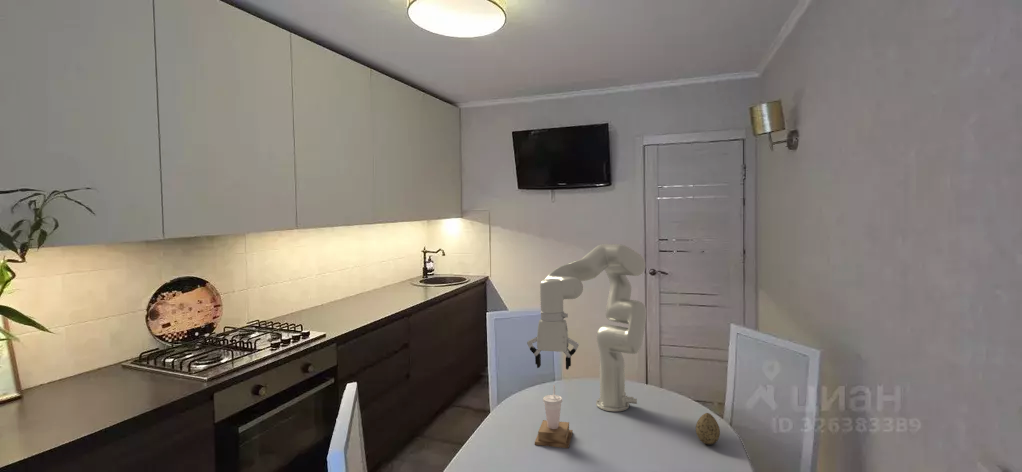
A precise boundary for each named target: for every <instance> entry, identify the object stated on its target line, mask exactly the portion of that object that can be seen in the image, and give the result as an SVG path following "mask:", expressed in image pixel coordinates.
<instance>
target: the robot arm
mask: <svg viewBox="0 0 1022 472" xmlns="http://www.w3.org/2000/svg"><path fill="white" fill-rule="evenodd" d="M645 270H646V260H645V258H644V257H643V255H642V254H640V253H639V252H638V251H635V249H632V248H630V247H629V246H627V245H624V244H619V243H617V244H613V243H602V244H598V245H596V246H595V247H594V248H592V249H591V250H590V251H589V252H588V253H586V254H585V255H584V256H583V257H582V258H580V259H577V260H575V261H572V262H569V263H566V264H564V265H561V266H559V267H557V268H555V269H554V270H552V271H551V272H550V273H549V274H548V275H546V277H545V278H544V279H543V280H541V282H540V284H539V289H540V291H539V293H540V294H539V295H540V296H539V297H540V299H539V300H540V301H539V302H540V319H539V320H538V325H537V334H536V335H537V336H535V337H534V338H532V339H530V340H528V341H527V342H526V344H527V346H528V348H529V350H530V351H531V353H532V354H534V357H535V358H534V359H535V365H536V368H537V369H539V368H540V367H541V366H542V362H541V360H542V359H541V358H542V357H541V351H543V352H557V353H558V352H561V353H562V352H563V353H564V354H565V369H566V370H569V369H570V367H571V366H572V357H573V355H574V354H575V353H576V352H577V349H578V348H579V345H580V344H579V342H577V341H575V340H573V339H571V338H570V337H569V330H568V325H567V324H568V323H567V320H566V318H569V317H568V316H569V314H568V313H566V312H565V310H564V300H575V299H577V298H579V297H580V296H582V293H583V292H584V285H583V282H586V281H589V280H593V279H595V278H597V277H598V276H599V275H600V274H601V273H602V272H603V271H605V273H606V275H607V279H608V281H609V292H608V296H607V301H606V307H605V317H606V319H607V320H608V321H610V322H613V323H617V324H618V323H619V324H624V325H628V326H627V327H625V326H621V325H614V324H604V325H601V326H600V327H599V328H598V329H597V332H596V342H597V348H598V354H599V357H598V358H599V398H597V400H595V401H596V402H595V405H596V407H597V408H598V409H601V410H603V411H606V412H618V413H619V412H623V411H626V410H628V409H629V408H630V404H633V405H637V404H638V399H637V398H634V396H628V395H626V394H627V393H626V390H625V389H626V387H625V385H626V383H625V381H626V380H625V369H626V368H625V366H626V365H625V358H624V356H623V354H629V355H636V354H638V353H639V352H640V350H641V348H642V345H643V340H644V339H643V338H644V334H645V329H646V321H647V308H646V305H645V304H644V302H643V301H639V300H635V299H631V296H632V285H631V282H630V280H629V278H628V277H627V276H629V277H630V276H632V277H637V276H640V275H642V274H644V272H645ZM534 343H536V346H537V348H536V347H535V346H534ZM569 345H571V346H573V347H572V349H571V350H570V348H569ZM622 353H623V354H622Z"/></svg>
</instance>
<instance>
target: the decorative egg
mask: <svg viewBox="0 0 1022 472" xmlns="http://www.w3.org/2000/svg"><path fill="white" fill-rule="evenodd" d="M695 432H696V436H697V438H698V440H699V441H700V442H702V443H703V444H704V445H709V446H710V445H714V444H716V443H717V442H718V441H719V439H720V435H721V429H720V426H719V423H718V421H717V420H716V418H715V417H714V416H713V415H712V413H709V412H705V413H703V414H702V415H701V416H699V418H698V420H697V422H696V424H695Z"/></svg>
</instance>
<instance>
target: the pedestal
mask: <svg viewBox="0 0 1022 472" xmlns="http://www.w3.org/2000/svg"><path fill="white" fill-rule="evenodd" d="M572 437H573V429H570V422H569V421H559V427H558V428H557V429H550V428H548V425H547V419H544V420H542V422H541V424H540V427H539V429H538V432H537V435H536V438H535V440H534V446H540V447H541V446H542V447H543V446H544V447H553V448H560V449H561V448H563V449H569V448H570V444H571V441H572Z"/></svg>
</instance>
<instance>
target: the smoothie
mask: <svg viewBox="0 0 1022 472" xmlns="http://www.w3.org/2000/svg"><path fill="white" fill-rule="evenodd" d="M552 390H553V392H552V394H547V395H545V396H544V397H543V398H542V402H543V404H544V410H545V417H546V420H547V425H548V428H550V429H557V428H558V427H559V422H560V418H561V408H562V402H563V397H562V396H560V395H558V394H556V385H555V384H553V387H552Z"/></svg>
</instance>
